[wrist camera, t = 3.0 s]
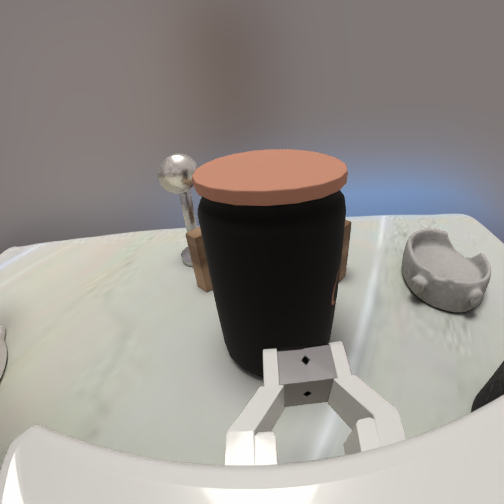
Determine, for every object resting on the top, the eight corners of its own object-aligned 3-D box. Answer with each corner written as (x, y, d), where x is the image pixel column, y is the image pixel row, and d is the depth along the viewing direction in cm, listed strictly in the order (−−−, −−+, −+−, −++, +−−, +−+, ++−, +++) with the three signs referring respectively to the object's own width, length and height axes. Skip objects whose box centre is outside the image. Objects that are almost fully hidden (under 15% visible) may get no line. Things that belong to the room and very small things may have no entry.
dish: (412, 246, 40) (418, 219, 38) (483, 274, 32) (493, 247, 29) (382, 293, 32) (390, 261, 30) (473, 334, 24) (490, 303, 21)
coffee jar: (344, 365, 24) (380, 179, 15) (235, 394, 23) (191, 204, 13) (307, 297, 33) (310, 145, 23) (220, 315, 32) (190, 159, 22)
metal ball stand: (179, 267, 41) (154, 159, 32) (185, 250, 45) (165, 151, 36) (211, 265, 40) (192, 153, 32) (215, 247, 45) (199, 146, 36)
